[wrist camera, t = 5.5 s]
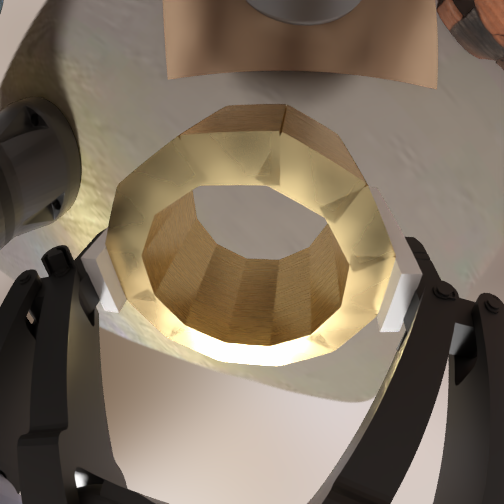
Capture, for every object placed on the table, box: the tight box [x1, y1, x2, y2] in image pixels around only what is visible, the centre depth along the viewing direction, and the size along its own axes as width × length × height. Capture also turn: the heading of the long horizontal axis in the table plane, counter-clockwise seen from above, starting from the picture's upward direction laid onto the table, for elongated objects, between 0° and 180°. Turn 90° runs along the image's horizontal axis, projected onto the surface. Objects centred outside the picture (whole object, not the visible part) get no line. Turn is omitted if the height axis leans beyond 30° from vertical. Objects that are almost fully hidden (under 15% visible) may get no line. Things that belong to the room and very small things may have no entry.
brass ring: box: [105, 104, 396, 366], centre depth 12 cm, size 10×10×6 cm
